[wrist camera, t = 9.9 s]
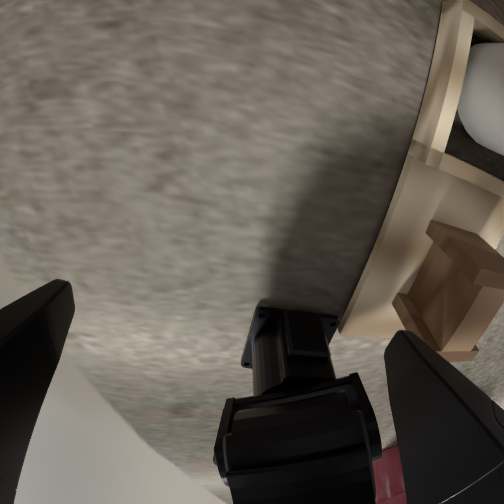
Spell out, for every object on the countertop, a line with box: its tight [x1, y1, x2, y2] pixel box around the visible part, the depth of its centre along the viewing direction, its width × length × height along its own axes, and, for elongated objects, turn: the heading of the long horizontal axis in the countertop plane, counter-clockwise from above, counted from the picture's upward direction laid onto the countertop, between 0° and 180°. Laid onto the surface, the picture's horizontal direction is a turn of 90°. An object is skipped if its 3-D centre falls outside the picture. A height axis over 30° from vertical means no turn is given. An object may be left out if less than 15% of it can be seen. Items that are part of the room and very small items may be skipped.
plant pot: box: [372, 446, 407, 504], centre depth 35 cm, size 14×14×13 cm
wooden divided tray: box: [338, 0, 504, 362], centre depth 16 cm, size 25×11×7 cm, turn 168°
